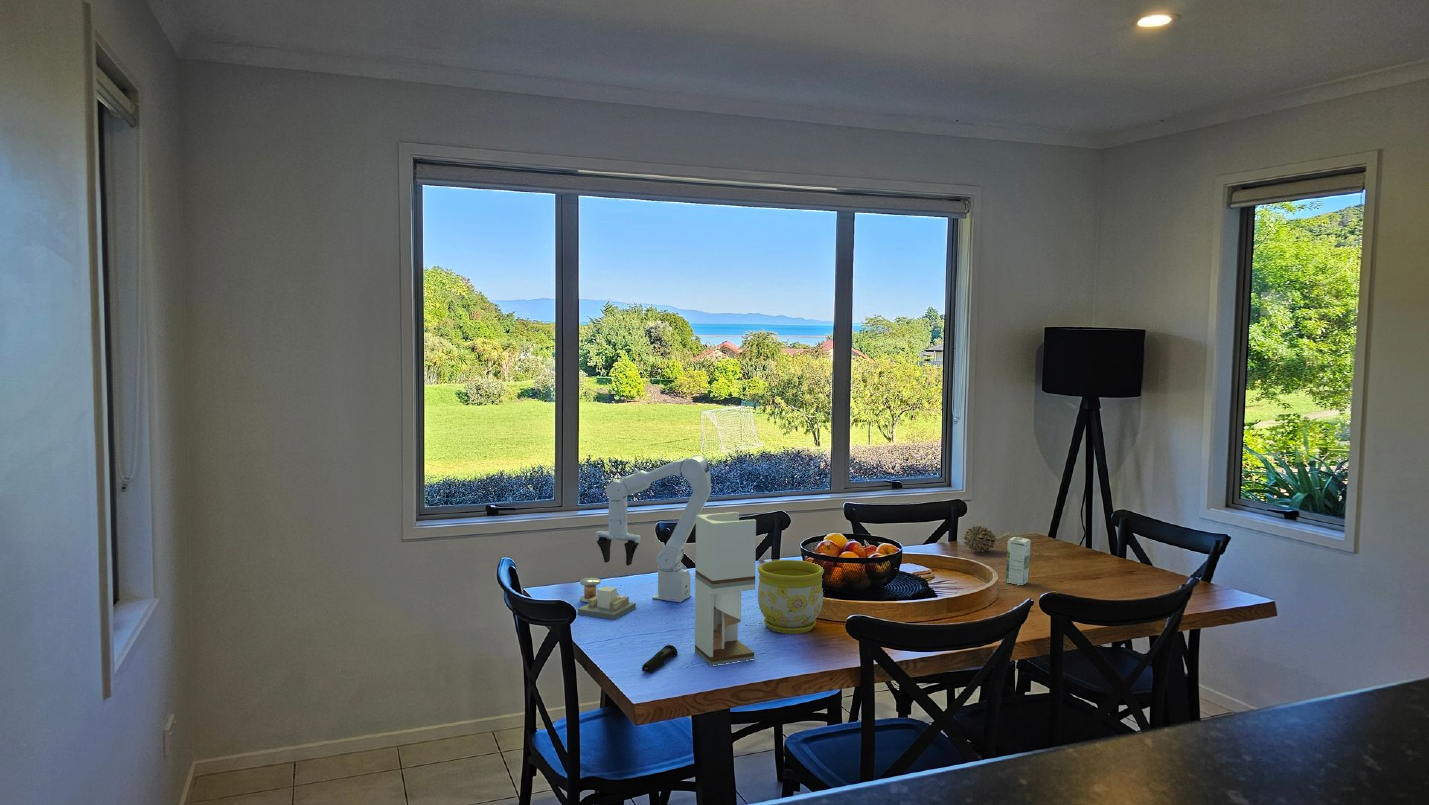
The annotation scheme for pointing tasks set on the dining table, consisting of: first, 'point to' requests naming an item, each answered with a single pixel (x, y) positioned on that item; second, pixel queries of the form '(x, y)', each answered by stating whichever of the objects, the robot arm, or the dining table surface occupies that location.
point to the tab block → (606, 596)
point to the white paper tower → (722, 584)
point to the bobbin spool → (589, 588)
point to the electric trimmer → (660, 658)
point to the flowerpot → (790, 595)
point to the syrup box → (1018, 561)
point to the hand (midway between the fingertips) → (617, 563)
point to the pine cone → (981, 538)
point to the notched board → (614, 612)
